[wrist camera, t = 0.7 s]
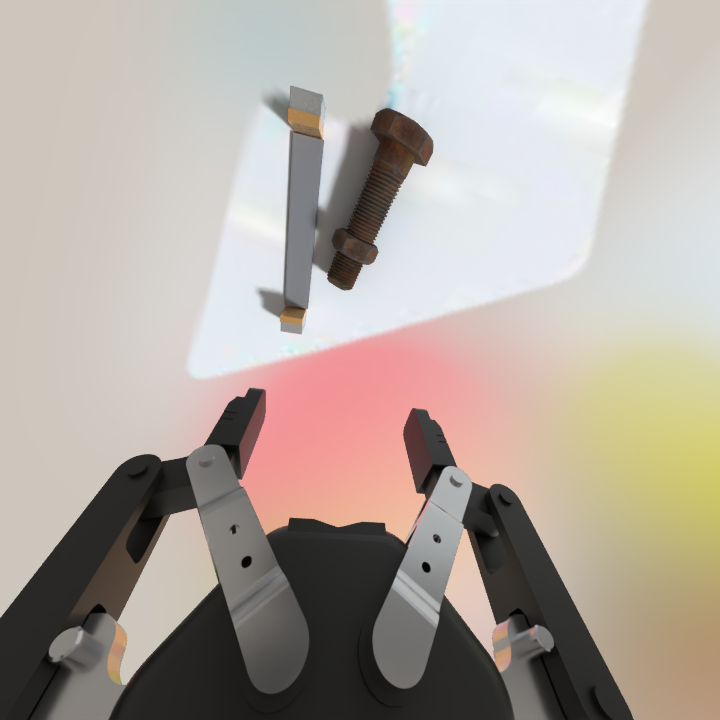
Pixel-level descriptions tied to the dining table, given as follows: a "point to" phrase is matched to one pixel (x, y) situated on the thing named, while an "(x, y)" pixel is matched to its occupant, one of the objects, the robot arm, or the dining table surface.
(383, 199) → the bolt
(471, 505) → the robot arm
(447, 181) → the dining table surface
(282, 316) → the small wooden block
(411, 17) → the dining table surface
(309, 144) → the pad
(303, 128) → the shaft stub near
